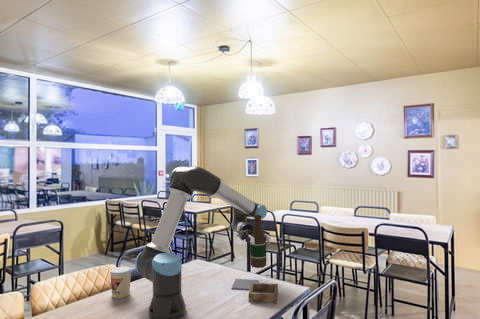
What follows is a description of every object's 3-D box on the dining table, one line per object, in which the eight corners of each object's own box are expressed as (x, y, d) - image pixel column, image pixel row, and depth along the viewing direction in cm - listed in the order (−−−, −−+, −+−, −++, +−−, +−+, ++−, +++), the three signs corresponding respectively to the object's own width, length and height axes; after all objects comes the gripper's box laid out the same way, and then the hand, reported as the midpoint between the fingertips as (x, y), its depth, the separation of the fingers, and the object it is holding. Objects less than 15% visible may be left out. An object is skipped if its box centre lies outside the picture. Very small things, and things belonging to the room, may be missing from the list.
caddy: (248, 302, 141) (248, 293, 141) (252, 290, 153) (252, 282, 153) (276, 304, 139) (276, 294, 139) (277, 292, 151) (277, 284, 151)
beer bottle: (265, 268, 146) (264, 216, 146) (248, 267, 147) (248, 216, 147) (267, 263, 153) (266, 213, 153) (251, 262, 155) (251, 213, 155)
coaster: (231, 289, 155) (231, 287, 155) (235, 279, 167) (235, 278, 167) (255, 290, 153) (255, 289, 153) (258, 281, 165) (258, 279, 165)
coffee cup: (105, 296, 148) (105, 271, 148) (121, 289, 156) (121, 265, 156) (119, 300, 144) (119, 274, 144) (135, 292, 152) (135, 267, 152)
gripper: (263, 235, 171) (281, 246, 149) (227, 238, 164) (241, 250, 143) (263, 221, 171) (281, 230, 149) (227, 224, 164) (240, 233, 143)
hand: (261, 240), depth 146 cm, fingers closed on beer bottle, 7 cm apart
